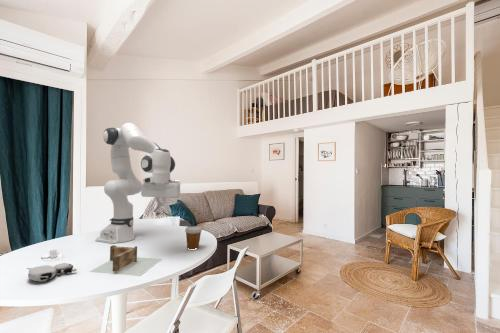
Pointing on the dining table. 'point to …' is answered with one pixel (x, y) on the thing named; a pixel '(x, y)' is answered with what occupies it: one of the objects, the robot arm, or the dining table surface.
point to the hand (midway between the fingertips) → (160, 205)
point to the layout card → (129, 267)
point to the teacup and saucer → (51, 255)
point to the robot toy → (49, 271)
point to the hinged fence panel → (123, 259)
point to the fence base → (120, 251)
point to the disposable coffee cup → (193, 236)
